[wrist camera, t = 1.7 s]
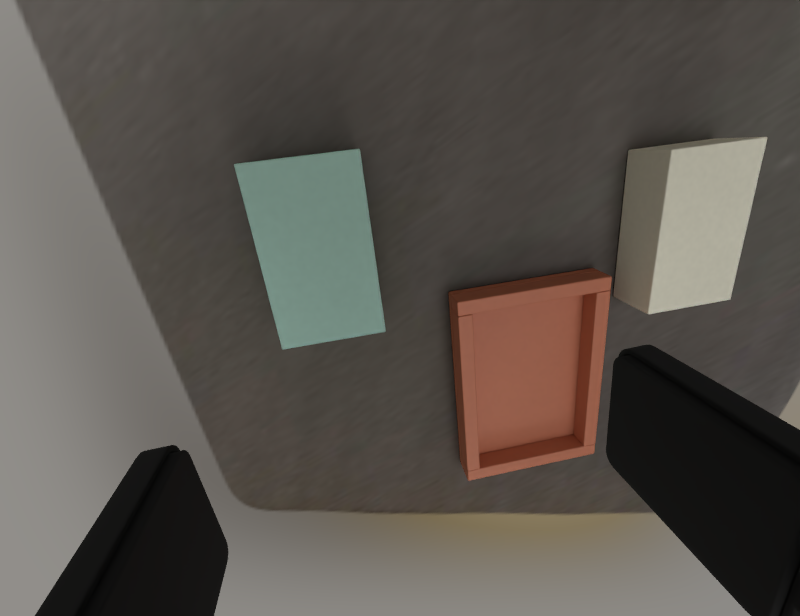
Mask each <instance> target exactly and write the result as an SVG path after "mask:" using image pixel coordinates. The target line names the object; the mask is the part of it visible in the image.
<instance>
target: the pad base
mask: <svg viewBox="0 0 800 616" xmlns="http://www.w3.org/2000/svg"><path fill="white" fill-rule="evenodd" d="M234 167H235V171H236V175H237V179H238V182H239V186H240V190H241V194H242V198H243V201H244V205H245V209H246V213H247V217H248V221H249V224H250V228H251V232H252V236H253V240H254V243H255V247H256V251H257V255H258V259H259V262H260V266H261V270H262V274H263V278H264V282H265V285H266V289H267V293H268V297H269V301H270V304H271V308H272V312H273V316H274V320H275V324H276V327H277V331H278V335H279V339H280V343H281V346H282V349H288V348H294V347H300V346H306V345H312V344H317V343H323V342H329V341H335V340H340V339H346V338H352V337H358V336H364V335H369V334H375V333H381V332H385V331H386V329H385V322H384V315H383V308H382V301H381V294H380V287H379V280H378V272H377V265H376V258H375V251H374V244H373V237H372V230H371V223H370V216H369V209H368V202H367V195H366V188H365V181H364V174H363V167H362V160H361V153H360V149H351V150H343V151H335V152H327V153H319V154H311V155H303V156H295V157H286V158H278V159H270V160H262V161H254V162H246V163H238V164H234Z"/></svg>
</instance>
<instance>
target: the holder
mask: <svg viewBox="0 0 800 616" xmlns="http://www.w3.org/2000/svg"><path fill="white" fill-rule="evenodd" d="M611 281H612V277H611V276H609V275H607V274H605V273H603V272H600V271H598V270H596V269H594V268H589V269H583V270H577V271H571V272H565V273H559V274H553V275H547V276H541V277H535V278H529V279H523V280H517V281H511V282H505V283H499V284H493V285H487V286H481V287H475V288H469V289H463V290H456V291H450V292H449V293H448V294H449V308H450V322H451V337H452V351H453V365H454V379H455V393H456V408H457V422H458V436H459V450H460V462H461V465H462V466H463V469H464V472H465V474H466V477H467V479H468V480H469V481H470V480H474V479H479V478H483V477H488V476H492V475H497V474H502V473H506V472H511V471H515V470H520V469H525V468H529V467H534V466H538V465H543V464H548V463H552V462H557V461H561V460H566V459H571V458H575V457H580V456H584V455H589V454H593V453H594V449H595V440H596V430H597V420H598V411H599V401H600V391H601V381H602V371H603V361H604V351H605V341H606V331H607V322H608V312H609V302H610V292H611V291H610V289H611Z"/></svg>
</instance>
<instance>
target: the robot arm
mask: <svg viewBox="0 0 800 616" xmlns="http://www.w3.org/2000/svg"><path fill="white" fill-rule="evenodd" d="M606 453H607V457H608V460H609V462H610V463H611V465H612V466H613V468H614V469H615V470H616V471H617V472H618V473H619V474H620V475H621V476H622V477H623V478H624V479H625V481H626V482H627V483H628V484H629V485H630V486H631V487H632V488H633V489H634V490H635V491H636V492H637V494H638V495H639V496H640V497H641V498H642V499H643V500H644V501H645V502H646V503H647V504H648V505H649V507H650V508H651V509H652V510H653V511H654V512H655V513H656V514H657V515H658V516H659V517H660V518H661V520H662V521H663V522H664V523H665V524H666V525H667V526H668V527H669V528H670V529H671V530H672V531H673V533H675V535H676V536H677V537H678V538H679V539H680V540H681V541H682V542H683V543H684V544H685V546H686V547H687V548H688V549H689V550H690V551H691V552H692V553H693V554H694V555H695V556H696V557H697V558H698V560H699V561H700V562H701V563H702V564H703V565H704V566H705V567H706V568H707V569H708V570H709V571H710V573H711V574H712V575H713V576H714V577H715V578H716V579H717V580H718V581H719V582H720V583H721V584H722V586H723V587H724V588H725V589H726V590H727V591H728V592H729V593H730V594H731V595H732V596H733V597H734V598H735V600H736V601H737V602H738V603H739V604H740V605H741V606H742V607H743V608H744V609H745V610H746V611H747V612H748V613H749V614H750V615H751V616H800V430H799V429H797V428H795V427H794V426H792V425H790V424H788V423H787V422H785V421H783V420H781V419H780V418H778V417H776V416H774V415H773V414H771V413H769V412H767V411H766V410H764V409H762V408H761V407H759V406H757V405H755V404H754V403H752V402H750V401H748V400H747V399H745V398H743V397H741V396H740V395H738V394H736V393H734V392H733V391H731V390H729V389H727V388H726V387H724V386H722V385H721V384H719V383H717V382H715V381H714V380H712V379H710V378H708V377H707V376H705V375H703V374H701V373H700V372H698V371H696V370H694V369H693V368H691V367H689V366H687V365H686V364H684V363H682V362H681V361H679V360H677V359H675V358H674V357H672V356H670V355H668V354H667V353H665V352H663V351H661V350H660V349H658V348H656V347H654V346H652V345H643V346H638V347H633V348H629V349H624V350H622V351H621V352H620V354H619V357H618V358H616V359H615V361H614V364H613V376H612V387H611V399H610V410H609V422H608V433H607V445H606ZM227 560H228V546H227V542H226V539H225V537H224V534H223V532H222V530H221V527H220V525H219V523H218V520H217V518H216V515H215V513H214V511H213V508H212V506H211V504H210V501H209V499H208V497H207V494H206V492H205V489H204V487H203V485H202V482H201V480H200V478H199V475H198V473H197V471H196V468H195V466H194V464H193V461H192V459H191V457H190V455H189V453H188V452H187V451H185V450H182V451H180V450H179V448H178V447H177V446H174V445H171V446H166V447H161V448H156V449H152V450H147V451H143V452H141V453H140V454H139V455H138V457H137V458H136V459H135V461H134V462H133V464H132V465H131V467H130V469H129V470H128V472H127V473H126V475H125V476H124V478H123V479H122V481H121V483H120V484H119V486H118V487H117V489H116V491H115V492H114V493H113V495H112V497H111V498H110V500H109V501H108V503H107V505H106V506H105V508H104V509H103V511H102V512H101V514H100V515H99V517H98V518H97V520H96V522H95V523H94V525H93V526H92V528H91V529H90V531H89V532H88V534H87V535H86V537H85V539H84V540H83V542H82V543H81V545H80V546H79V548H78V550H77V551H76V553H75V554H74V556H73V557H72V559H71V561H70V562H69V563H68V565H67V567H66V568H65V570H64V571H63V573H62V574H61V576H60V577H59V579H58V581H57V582H56V584H55V585H54V587H53V589H52V590H51V592H50V593H49V595H48V596H47V598H46V599H45V601H44V602H43V604H42V605H41V607H40V609H39V610H38V612H37V613H36V615H35V616H214V613H215V609H216V605H217V601H218V597H219V593H220V589H221V585H222V581H223V577H224V573H225V569H226V565H227Z"/></svg>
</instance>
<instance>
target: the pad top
mask: <svg viewBox="0 0 800 616" xmlns="http://www.w3.org/2000/svg"><path fill="white" fill-rule="evenodd" d="M766 142H767V137H745V138H716V139H706V140H699V141H691V142H684V143H676V144H669V145H661V146H654V147H646V148H639V149H631V150H629V151H628V159H627V168H626V178H625V187H624V197H623V206H622V216H621V226H620V235H619V245H618V254H617V264H616V273H615V283H614V293H613V296H614V297H615V298H617V299H619V300H621V301H623V302H625V303H627V304H629V305H631V306H633V307H635V308H637V309H639V310H641V311H643V312H645V313H646V314H653V313H658V312H664V311H669V310H675V309H680V308H686V307H692V306H697V305H703V304H708V303H714V302H719V301H725V300H730V298H731V294H732V290H733V285H734V281H735V277H736V272H737V268H738V263H739V259H740V255H741V250H742V246H743V242H744V237H745V233H746V229H747V224H748V220H749V216H750V211H751V207H752V203H753V198H754V194H755V190H756V185H757V181H758V176H759V172H760V168H761V163H762V159H763V155H764V150H765V146H766Z"/></svg>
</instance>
